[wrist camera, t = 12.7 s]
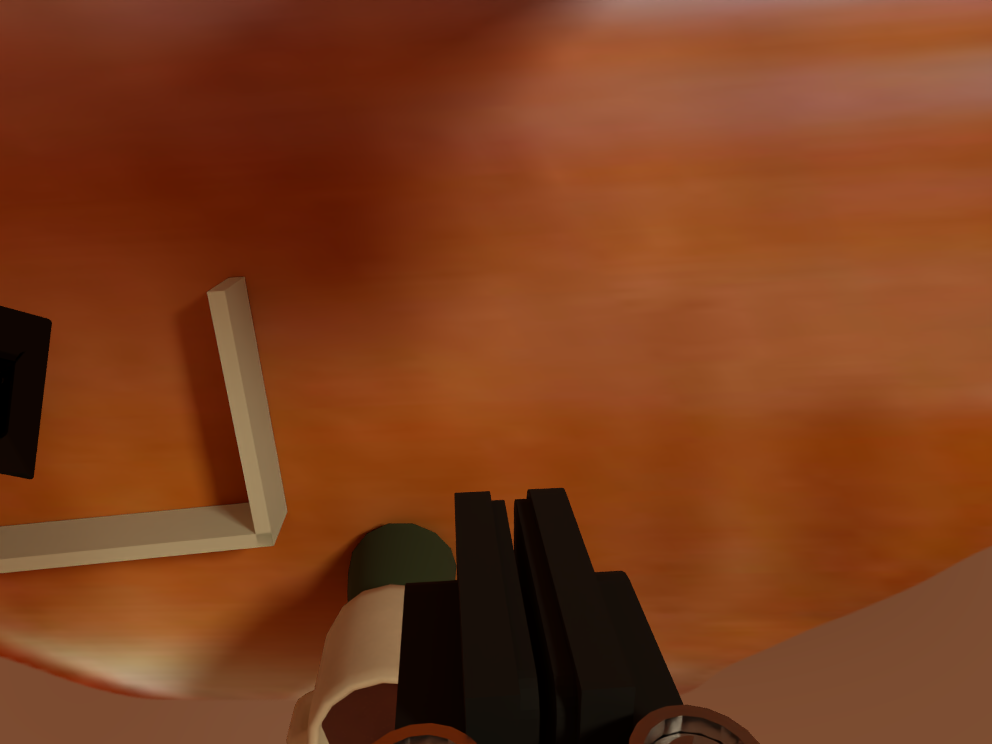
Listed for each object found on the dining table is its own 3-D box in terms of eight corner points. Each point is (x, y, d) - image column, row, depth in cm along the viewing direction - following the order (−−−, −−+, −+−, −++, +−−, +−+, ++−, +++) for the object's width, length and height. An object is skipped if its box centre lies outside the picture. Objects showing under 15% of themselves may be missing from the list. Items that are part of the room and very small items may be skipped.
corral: (-164, 306, 33) (-230, 325, 30) (244, 276, 34) (224, 290, 31) (-72, 546, 37) (-121, 585, 34) (287, 511, 39) (273, 545, 35)
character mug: (352, 642, 42) (319, 847, 30) (292, 555, 40) (229, 738, 27) (510, 569, 41) (542, 748, 29) (458, 476, 39) (469, 629, 27)
